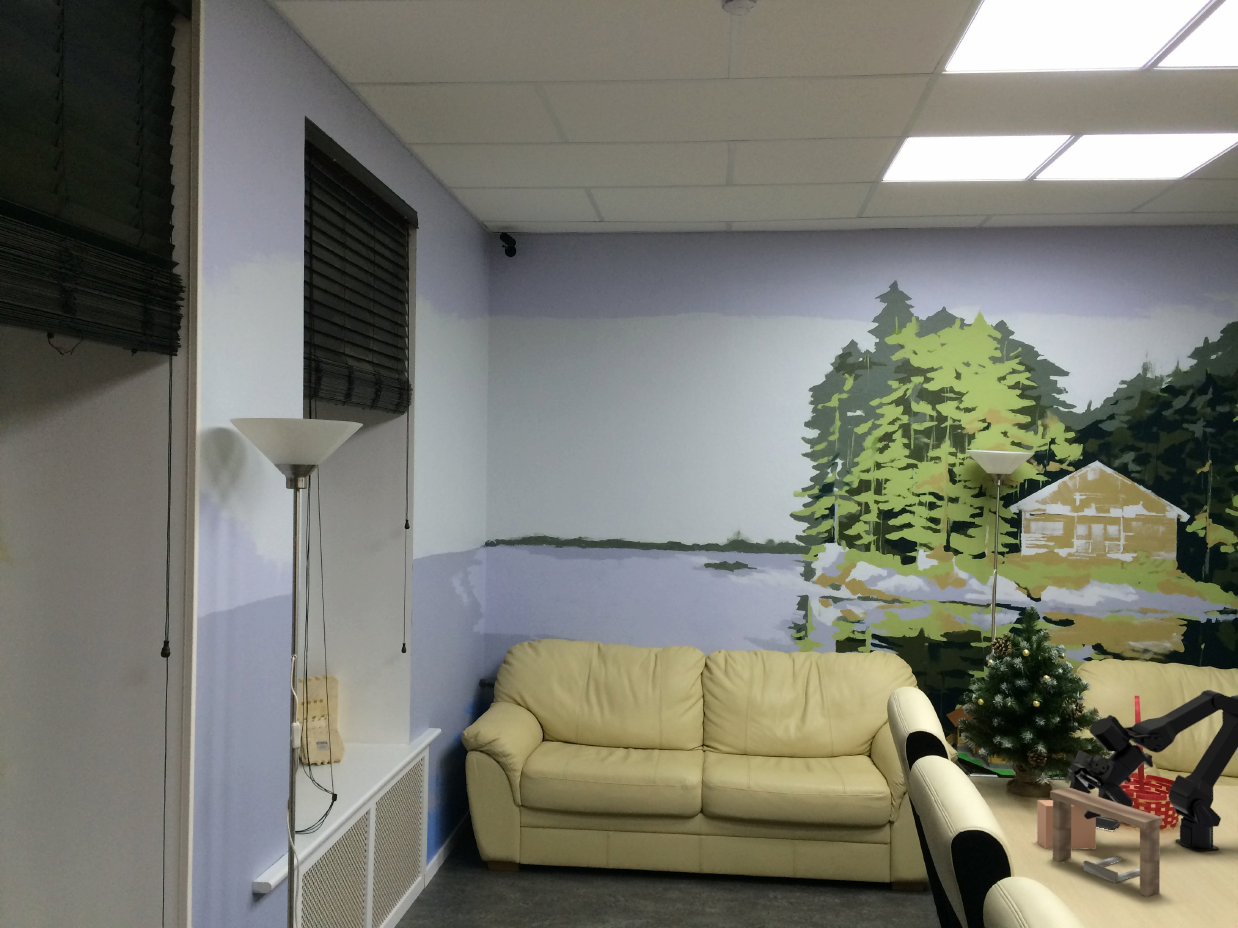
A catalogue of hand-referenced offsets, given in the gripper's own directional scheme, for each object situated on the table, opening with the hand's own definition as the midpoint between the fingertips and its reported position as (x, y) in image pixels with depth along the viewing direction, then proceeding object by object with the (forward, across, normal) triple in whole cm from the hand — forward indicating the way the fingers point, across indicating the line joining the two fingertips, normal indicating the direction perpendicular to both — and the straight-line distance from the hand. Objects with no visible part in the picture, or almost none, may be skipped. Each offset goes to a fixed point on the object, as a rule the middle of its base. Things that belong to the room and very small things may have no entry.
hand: (1074, 810), depth 212 cm
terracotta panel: (+7, 0, +4) cm, 8 cm away
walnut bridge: (+5, +15, +6) cm, 17 cm away
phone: (-3, -17, +15) cm, 22 cm away
